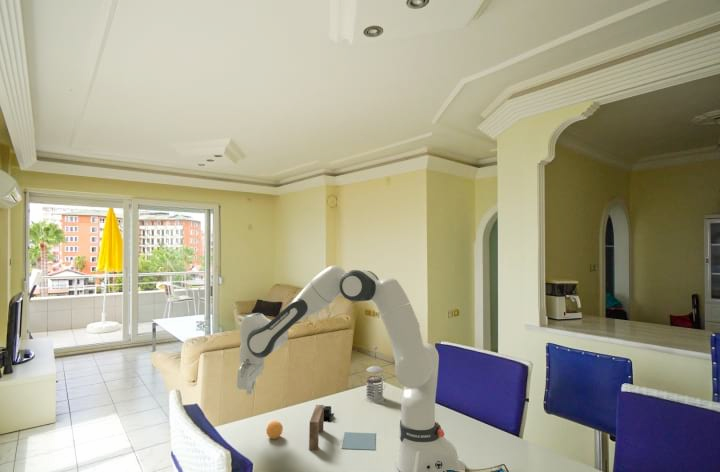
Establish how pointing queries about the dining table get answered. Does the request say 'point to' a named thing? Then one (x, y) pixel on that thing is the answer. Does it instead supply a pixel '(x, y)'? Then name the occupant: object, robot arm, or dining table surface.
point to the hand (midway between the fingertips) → (250, 392)
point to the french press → (374, 385)
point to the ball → (274, 429)
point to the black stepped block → (328, 414)
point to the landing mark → (359, 441)
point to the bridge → (316, 426)
